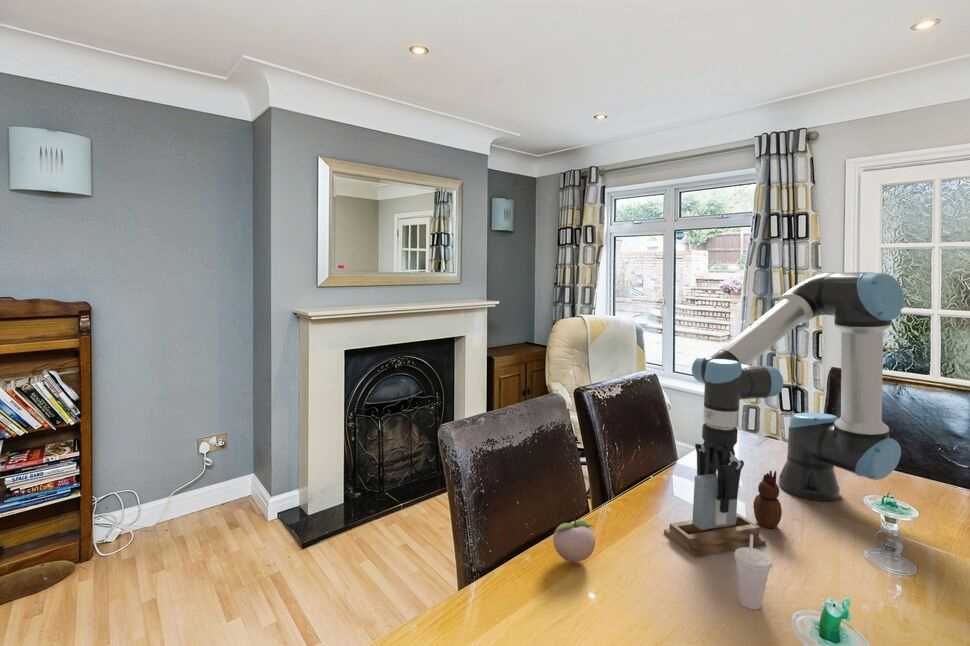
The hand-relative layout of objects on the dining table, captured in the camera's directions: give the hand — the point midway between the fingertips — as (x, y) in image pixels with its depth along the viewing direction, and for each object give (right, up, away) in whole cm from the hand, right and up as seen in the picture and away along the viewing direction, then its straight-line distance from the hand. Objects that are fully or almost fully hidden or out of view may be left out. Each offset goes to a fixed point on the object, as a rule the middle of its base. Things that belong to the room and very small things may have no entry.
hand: (714, 519), depth 117 cm
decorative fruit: (-36, -6, -10) cm, 37 cm away
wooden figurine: (+17, -4, +7) cm, 19 cm away
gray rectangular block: (0, -1, 0) cm, 1 cm away
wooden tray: (0, -5, 0) cm, 5 cm away
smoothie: (-4, -7, -23) cm, 24 cm away
